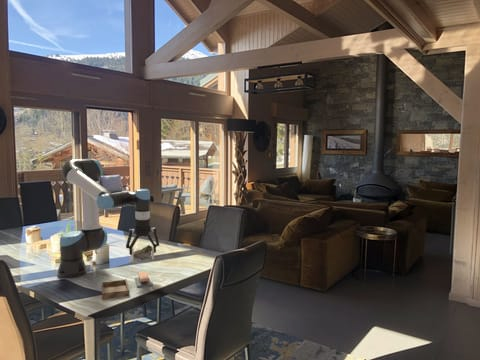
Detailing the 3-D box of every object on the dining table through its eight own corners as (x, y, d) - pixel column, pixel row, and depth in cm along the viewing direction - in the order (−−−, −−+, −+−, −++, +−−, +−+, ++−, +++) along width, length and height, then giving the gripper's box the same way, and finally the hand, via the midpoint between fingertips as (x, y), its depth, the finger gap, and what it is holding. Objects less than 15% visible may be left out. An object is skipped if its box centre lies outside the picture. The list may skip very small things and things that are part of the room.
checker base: (137, 287, 194) (137, 282, 194) (134, 279, 205) (134, 274, 205) (153, 285, 197) (152, 280, 197) (149, 278, 208) (149, 273, 208)
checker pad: (140, 281, 195) (140, 279, 195) (138, 274, 205) (138, 272, 205) (149, 280, 197) (149, 278, 196) (146, 273, 207) (146, 271, 207)
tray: (102, 299, 180) (102, 293, 179) (101, 287, 194) (101, 282, 194) (129, 295, 184) (129, 290, 184) (126, 284, 199) (126, 279, 198)
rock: (150, 253, 210) (153, 244, 203) (152, 262, 207) (155, 254, 200) (130, 255, 205) (132, 245, 198) (131, 265, 202) (133, 256, 195)
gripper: (121, 221, 190) (121, 264, 193) (165, 219, 198) (165, 259, 201) (119, 218, 197) (120, 259, 199) (162, 216, 205) (162, 255, 208)
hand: (142, 259), depth 200 cm, fingers closed on rock, 10 cm apart
